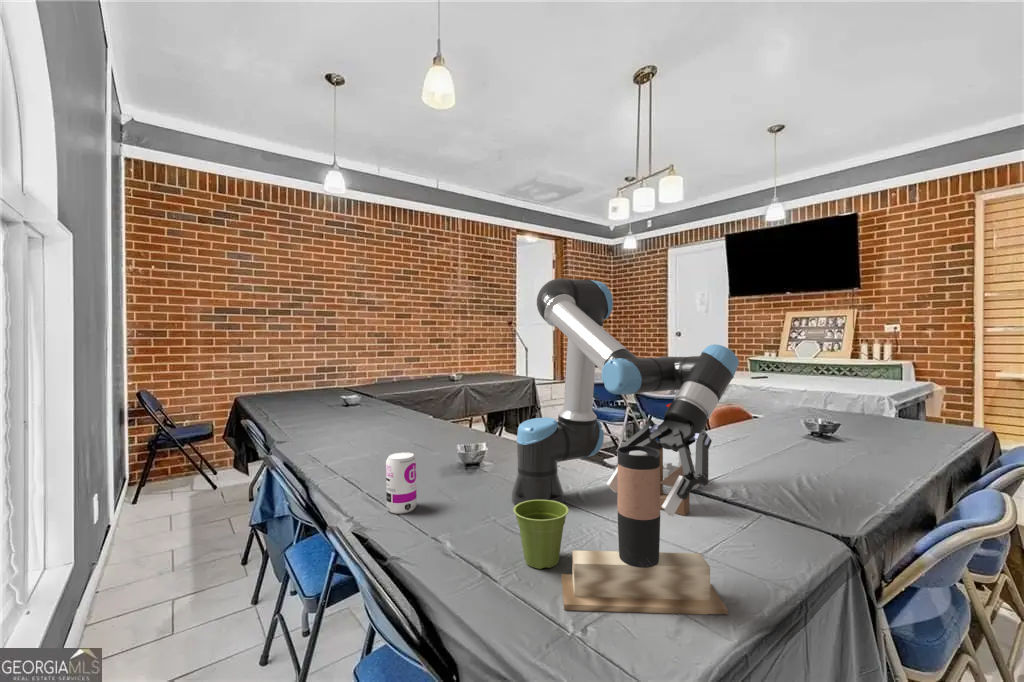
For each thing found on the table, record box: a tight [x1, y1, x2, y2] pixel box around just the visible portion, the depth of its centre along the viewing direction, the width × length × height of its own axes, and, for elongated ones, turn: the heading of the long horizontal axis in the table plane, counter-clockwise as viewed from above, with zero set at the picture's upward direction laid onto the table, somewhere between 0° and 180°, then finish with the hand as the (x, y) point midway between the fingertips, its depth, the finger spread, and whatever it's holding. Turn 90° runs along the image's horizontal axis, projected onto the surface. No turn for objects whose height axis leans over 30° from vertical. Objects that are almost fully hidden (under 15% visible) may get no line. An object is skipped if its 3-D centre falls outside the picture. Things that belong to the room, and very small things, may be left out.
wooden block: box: [656, 440, 691, 516], centre depth 124 cm, size 4×11×18 cm, turn 47°
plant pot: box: [512, 500, 570, 570], centre depth 96 cm, size 12×12×11 cm
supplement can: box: [385, 451, 418, 515], centre depth 126 cm, size 8×8×15 cm
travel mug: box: [616, 446, 661, 568], centre depth 83 cm, size 8×8×20 cm
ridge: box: [561, 549, 728, 616], centre depth 83 cm, size 28×10×7 cm, turn 86°
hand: (637, 499), depth 83 cm, fingers open, 13 cm apart
